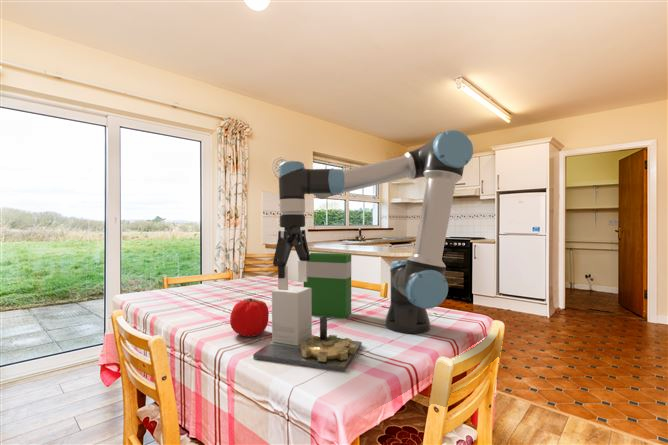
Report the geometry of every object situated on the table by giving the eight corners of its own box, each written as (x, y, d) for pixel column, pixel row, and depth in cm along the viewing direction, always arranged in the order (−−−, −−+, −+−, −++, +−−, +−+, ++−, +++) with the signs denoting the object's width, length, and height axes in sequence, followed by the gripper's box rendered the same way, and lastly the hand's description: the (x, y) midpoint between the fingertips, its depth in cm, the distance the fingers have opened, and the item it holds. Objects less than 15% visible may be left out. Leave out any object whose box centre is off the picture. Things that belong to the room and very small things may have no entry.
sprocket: (364, 357, 82) (364, 327, 83) (308, 365, 77) (308, 333, 78) (343, 338, 96) (343, 312, 97) (294, 344, 91) (294, 317, 92)
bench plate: (361, 345, 94) (361, 341, 94) (344, 372, 77) (344, 366, 77) (284, 336, 102) (284, 332, 102) (253, 358, 85) (253, 353, 85)
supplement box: (312, 336, 98) (312, 287, 99) (298, 346, 90) (298, 292, 90) (287, 332, 102) (287, 285, 102) (270, 342, 94) (271, 290, 94)
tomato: (232, 343, 96) (232, 304, 96) (227, 330, 108) (228, 295, 109) (272, 337, 101) (273, 300, 101) (264, 326, 113) (264, 293, 113)
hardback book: (303, 314, 129) (303, 254, 129) (310, 309, 136) (311, 252, 136) (345, 318, 123) (345, 255, 123) (351, 313, 130) (351, 253, 130)
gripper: (298, 215, 109) (299, 278, 109) (259, 213, 86) (260, 293, 85) (318, 214, 107) (320, 279, 107) (284, 212, 83) (286, 294, 83)
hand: (293, 285), depth 96 cm, fingers open, 13 cm apart
